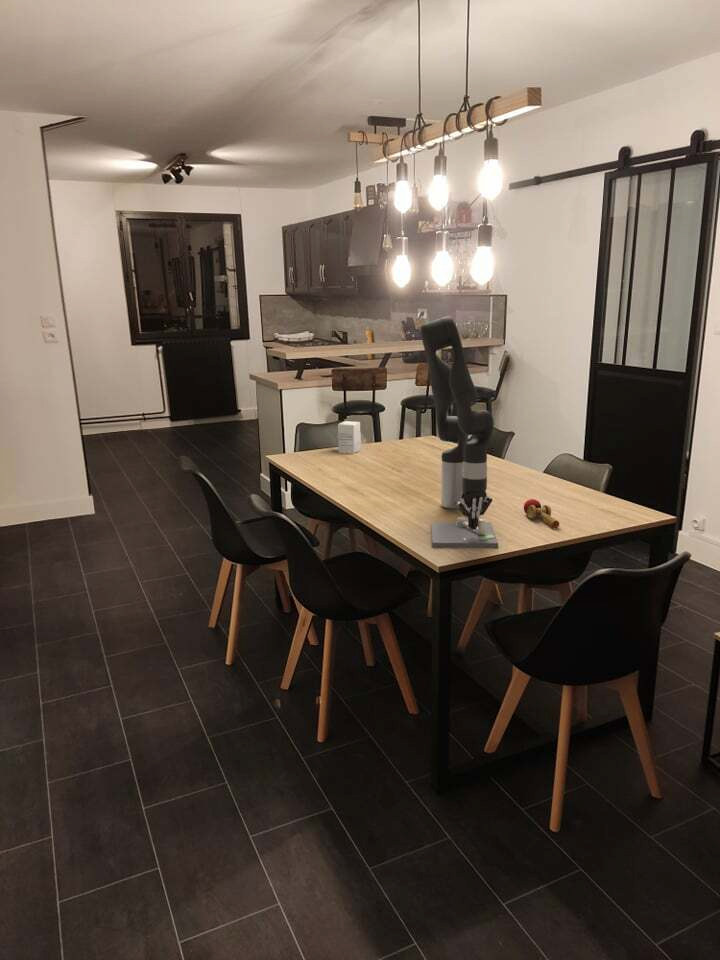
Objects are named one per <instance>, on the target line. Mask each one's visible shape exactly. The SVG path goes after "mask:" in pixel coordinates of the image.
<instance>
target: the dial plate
mask: <svg viewBox="0 0 720 960" xmlns="http://www.w3.org/2000/svg"><path fill="white" fill-rule="evenodd" d="M495 532H496V531H495V530H494V528H493V525H492V522H488V521H487V522H486V527H485V534H483V535H480V534H478V532H477V531H475V530H472V529H470V528H469V527H467V526H465V525H464V526H459V525H457V521H453V522H452V521H437V522H436V521H431V522H430V533H431V545H432V547H431V548H455V549H456V548H465V549H467V548H469V549H471V548H475V549H476V548H477V549H478V548H480V549H483V548H484V549H486V548H488V549H490V548H491V549H497V548H499V541H498V539H497V536H496V533H495Z"/></svg>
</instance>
